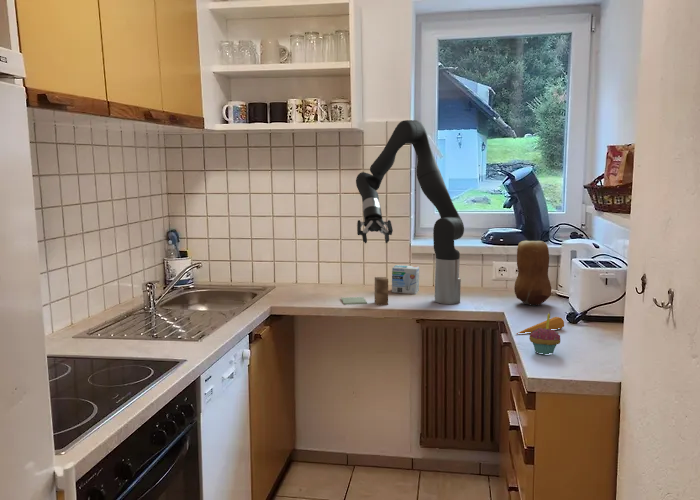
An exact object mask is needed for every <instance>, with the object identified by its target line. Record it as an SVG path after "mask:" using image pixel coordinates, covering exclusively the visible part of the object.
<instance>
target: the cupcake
mask: <svg viewBox="0 0 700 500" xmlns="http://www.w3.org/2000/svg"><path fill="white" fill-rule="evenodd" d="M546 316H547V318H546V320H547V324H546V328H545V329H544V328H538V329H536V330H534V331H533V332H531V333H530V334H529V342H531V343H532V345H533V347H534V352H535V351H536V352H538V353H543V354H549V353H553V354H554V351H555V349H556V347H557V345H559V344H560V343H561V334H559V332H557V331H556V330H551V329H548V328H549V319H551V317H550V316H551V314H550V310H549V311H548V313H547V315H546ZM536 352H535V353H536Z"/></svg>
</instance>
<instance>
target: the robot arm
mask: <svg viewBox="0 0 700 500" xmlns="http://www.w3.org/2000/svg"><path fill="white" fill-rule="evenodd" d="M404 145H412V146H413V149H414V151H415V154H416V159H417V163H416V172H415V173H416V178H417V181H418V183H419V187H420V189H421V191H422V192H423V194H424V196H425V197H426V198H427V199H428V201H430V203H432V205H433V206H434V207H435V208H436V211H437V212H438V213H439V217H440V218H438V219H437V220H436V221H435V223H434V224H433V229H432V230H433V233H432V236H433V250H434V254H435V265H434V266H435V267H434V268H435V270H434V271H435V273H434V302H435V303H438V304H442V305H443V304H445V305H453V304H459V303H461V286H462V285H461V282H462V280H461V279H462V278H460V258H461V255H460V250H458V249H456V247H455V241H457V240H460V239H461V238H462V237H463V235H464V233H465V226H464V222H463V220H462V218H461V216H460V215H459V212H458V211H457V209H456V207H455V205H454V203H453V200H452V198H451V196H450V193H449V190H448V188H447V186H446V184H445V181H444V178H443V176H442V172H441V171H440V168H439V166H438V164H437V161H436V159H435V156H434V153H433V151H432V148H431V144H430V141H429V137H428V133H427V131H426V128H425V125H424V124H423V123H422V122H421V121H419V120H413V119H411V120H410V119H405V120H401V121H400V122H399V123H398V124H397V125H396V127H395V128H394V130H393V132H392V133H391V136H390V137H389V138H388V140H387V143H386V144H385V146H384V148H383V149H382V151H381V153H380V154H379V155H378V157H377V158H376V159H375V160H374V161H373V162H372V163H371V165H370V168H369V171H370V173H371V174H370V173H368V172H365V171H364V172H363V171H362V172H359V173H358V174H357V176H356V179H355V185H356V188H357V191H358V193H359V195H360V196H361V199H362V212H363V221H362V220H359V219H358V220H357V223H356V230H357V233H356V234H357V236H361V237H362V242H363V243H364V244H367V243H368V237H367V236H368V235H367V234H368V233H369V232H378V233H381V234H382V235H384V242H385V244H388V242H390V236H392V235H393V232H394V231H393V225H392V221H391V220H390V219H388V220H387V221H384V219H383V214H382V207H381V203H380V199H379V197H380V196H379V193H378V190H379V189H380V187H381V183H382V182H383V179H384V177H385V176H386V174H387V173H388V172H389V171H390V169H391V168H392V167H393V165H394V163H395V161H396V156H397V153H398V151H400V149H402V147H403V146H404ZM363 226H364V227H365V228H364V229H363V230H362V229H361V228H362V227H363Z"/></svg>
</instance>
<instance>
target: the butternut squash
mask: <svg viewBox="0 0 700 500" xmlns="http://www.w3.org/2000/svg"><path fill="white" fill-rule="evenodd" d="M516 266H517V272H518V273H517V276H516V278H515V281H514V294H515V297H516V299H518V300H520V301H521V302H522V303H524V304H525V305H529V304H531V305H530V306H532V305H537V306H540V305H542V304H544V303H545V302H546V301H548V300H549V298H550V296H551V295H552V283H551V281H550V277H549V266H550V252H549V247H548V244H547V243H546V241H545V242H544V241H543V240H522V241H520V242H518V245H517V249H516Z"/></svg>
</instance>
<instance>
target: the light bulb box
mask: <svg viewBox="0 0 700 500" xmlns="http://www.w3.org/2000/svg"><path fill="white" fill-rule="evenodd" d="M391 270H392V271H391V293H396V294H399V293H400V294H409V295H416V294H417V293H419V292H420V266H418V265H417V266H416V265H402V264H401V265H400V264H399V265H394V266H392V268H391Z"/></svg>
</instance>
